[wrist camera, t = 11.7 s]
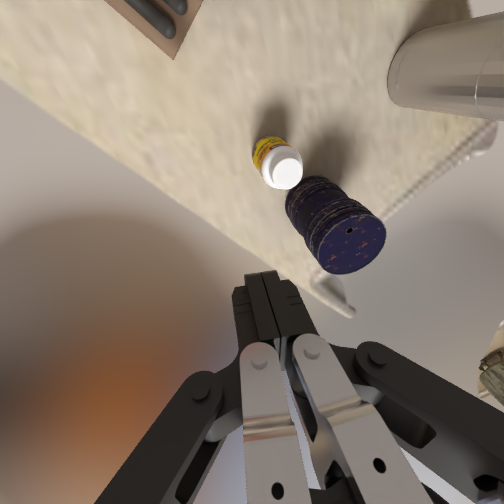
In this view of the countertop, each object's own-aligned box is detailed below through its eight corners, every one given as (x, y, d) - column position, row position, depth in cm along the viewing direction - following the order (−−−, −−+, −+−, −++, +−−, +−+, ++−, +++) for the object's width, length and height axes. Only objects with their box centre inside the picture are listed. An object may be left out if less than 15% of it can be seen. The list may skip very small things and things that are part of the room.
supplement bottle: (276, 126, 36) (299, 141, 28) (291, 159, 40) (315, 180, 31) (244, 147, 37) (258, 167, 29) (261, 178, 40) (277, 203, 32)
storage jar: (339, 213, 47) (388, 259, 35) (292, 233, 48) (324, 285, 36) (331, 165, 41) (386, 201, 29) (277, 189, 42) (310, 233, 30)
